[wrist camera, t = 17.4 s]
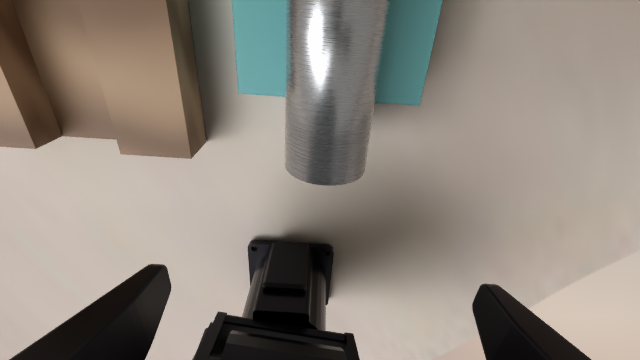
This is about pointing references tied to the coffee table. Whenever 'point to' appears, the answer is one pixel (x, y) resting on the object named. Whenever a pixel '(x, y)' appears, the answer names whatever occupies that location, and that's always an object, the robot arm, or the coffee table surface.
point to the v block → (396, 63)
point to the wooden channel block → (100, 75)
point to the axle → (331, 86)
